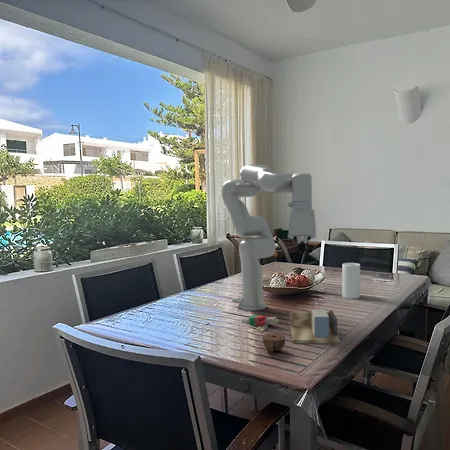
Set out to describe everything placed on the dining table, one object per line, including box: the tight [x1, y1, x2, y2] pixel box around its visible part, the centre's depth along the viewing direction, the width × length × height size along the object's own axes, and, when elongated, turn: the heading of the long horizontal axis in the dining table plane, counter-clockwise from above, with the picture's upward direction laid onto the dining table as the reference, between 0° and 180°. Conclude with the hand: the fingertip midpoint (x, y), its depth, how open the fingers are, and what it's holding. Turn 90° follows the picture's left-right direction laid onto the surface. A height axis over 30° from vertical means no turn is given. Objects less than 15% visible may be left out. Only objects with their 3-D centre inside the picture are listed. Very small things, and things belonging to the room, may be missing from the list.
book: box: [311, 309, 329, 338], centre depth 155 cm, size 5×9×8 cm, turn 175°
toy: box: [241, 314, 280, 333], centre depth 171 cm, size 15×4×15 cm
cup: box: [341, 262, 361, 300], centre depth 208 cm, size 8×8×16 cm
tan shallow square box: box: [289, 310, 340, 345], centre depth 157 cm, size 16×16×7 cm
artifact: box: [262, 333, 286, 353], centre depth 143 cm, size 8×8×5 cm
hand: (301, 253), depth 164 cm, fingers closed
